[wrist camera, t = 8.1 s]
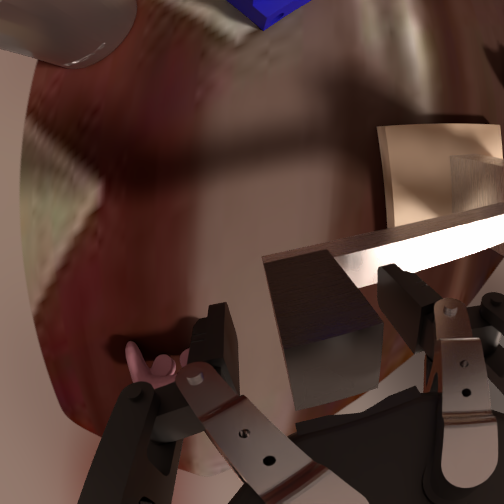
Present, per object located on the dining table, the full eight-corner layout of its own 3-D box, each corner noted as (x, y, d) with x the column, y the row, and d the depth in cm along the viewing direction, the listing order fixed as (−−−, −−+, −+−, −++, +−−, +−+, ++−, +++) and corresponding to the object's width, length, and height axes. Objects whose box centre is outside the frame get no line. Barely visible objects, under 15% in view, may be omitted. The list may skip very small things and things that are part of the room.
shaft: (259, 247, 15) (283, 349, 8) (501, 195, 15) (583, 231, 7) (270, 296, 16) (295, 410, 9) (499, 234, 16) (573, 278, 8)
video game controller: (144, 355, 30) (146, 413, 26) (121, 339, 27) (121, 403, 22) (224, 336, 30) (235, 398, 25) (208, 316, 27) (218, 388, 22)
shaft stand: (376, 126, 21) (495, 129, 9) (490, 124, 21) (586, 139, 9) (388, 264, 26) (472, 348, 14) (492, 233, 26) (572, 281, 13)
